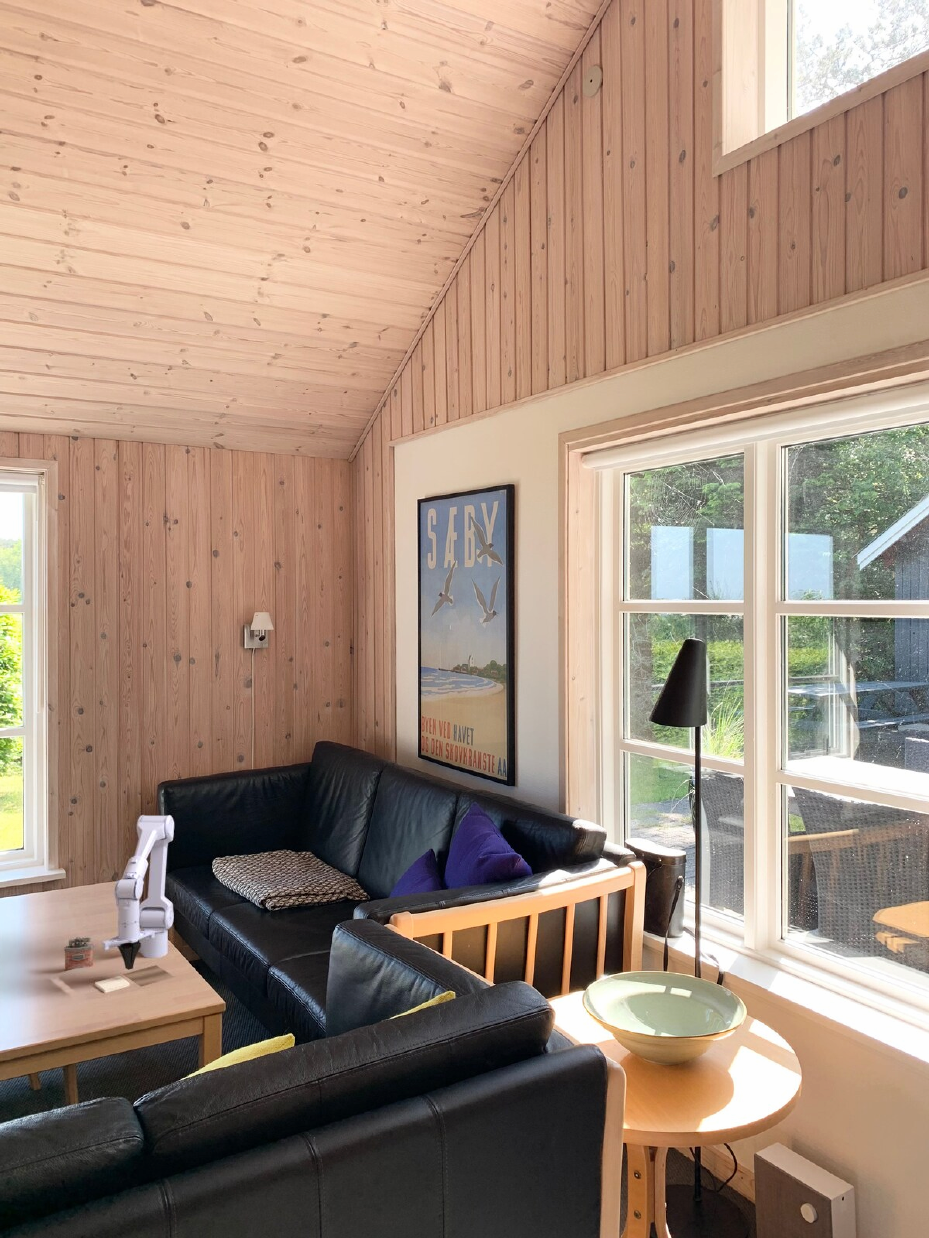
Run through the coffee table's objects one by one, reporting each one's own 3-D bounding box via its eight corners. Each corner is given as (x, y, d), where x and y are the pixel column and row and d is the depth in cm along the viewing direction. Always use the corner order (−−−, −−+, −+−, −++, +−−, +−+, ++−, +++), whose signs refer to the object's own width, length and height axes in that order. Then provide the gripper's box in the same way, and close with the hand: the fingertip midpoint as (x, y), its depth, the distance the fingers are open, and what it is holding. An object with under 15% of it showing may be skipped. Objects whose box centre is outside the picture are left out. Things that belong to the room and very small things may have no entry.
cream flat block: (94, 989, 262) (94, 982, 262) (119, 982, 266) (119, 975, 266) (104, 996, 257) (104, 989, 257) (129, 989, 261) (129, 982, 261)
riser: (123, 979, 270) (123, 974, 270) (156, 970, 277) (156, 965, 277) (141, 991, 261) (141, 986, 261) (174, 981, 268) (174, 976, 268)
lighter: (63, 974, 273) (63, 940, 273) (65, 970, 276) (65, 937, 276) (92, 971, 275) (92, 938, 275) (94, 967, 278) (94, 934, 278)
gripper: (109, 930, 257) (109, 979, 257) (159, 918, 267) (159, 965, 267) (99, 924, 262) (99, 971, 262) (148, 912, 272) (148, 958, 272)
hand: (129, 968), depth 265 cm, fingers closed
